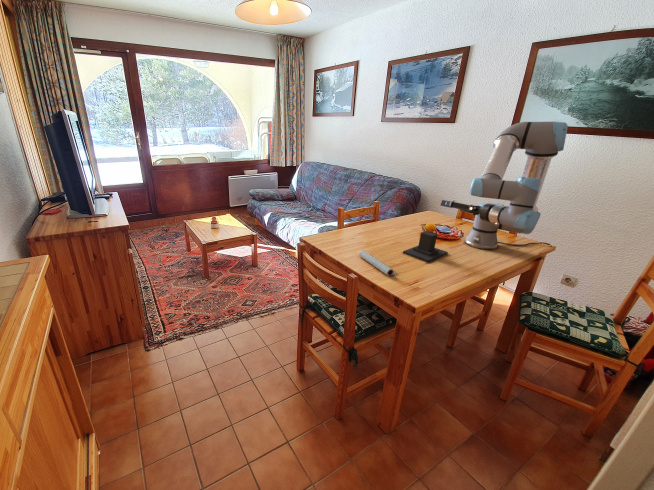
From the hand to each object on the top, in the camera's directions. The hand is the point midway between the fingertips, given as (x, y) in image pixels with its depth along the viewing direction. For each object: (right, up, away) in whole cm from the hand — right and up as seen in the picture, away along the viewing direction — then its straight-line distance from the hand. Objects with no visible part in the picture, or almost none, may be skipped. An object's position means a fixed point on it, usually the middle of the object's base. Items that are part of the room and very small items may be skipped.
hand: (451, 205), depth 149 cm
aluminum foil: (-36, -29, -1) cm, 46 cm away
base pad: (-7, -23, +12) cm, 27 cm away
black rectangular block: (-7, -22, +11) cm, 26 cm away
